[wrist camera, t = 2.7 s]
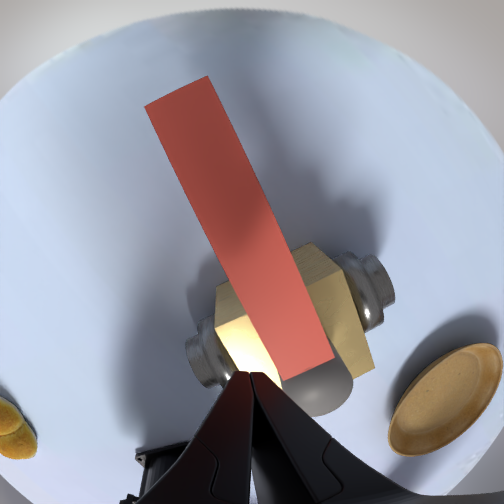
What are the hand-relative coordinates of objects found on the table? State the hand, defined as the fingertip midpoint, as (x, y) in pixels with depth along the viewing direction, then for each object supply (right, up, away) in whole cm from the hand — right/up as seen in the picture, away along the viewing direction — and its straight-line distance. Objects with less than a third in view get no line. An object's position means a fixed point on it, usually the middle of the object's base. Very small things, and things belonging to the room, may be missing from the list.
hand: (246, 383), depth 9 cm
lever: (0, +3, +6) cm, 7 cm away
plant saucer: (+20, -11, +19) cm, 29 cm away
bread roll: (-27, -15, +16) cm, 35 cm away
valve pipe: (+2, 0, +14) cm, 14 cm away
